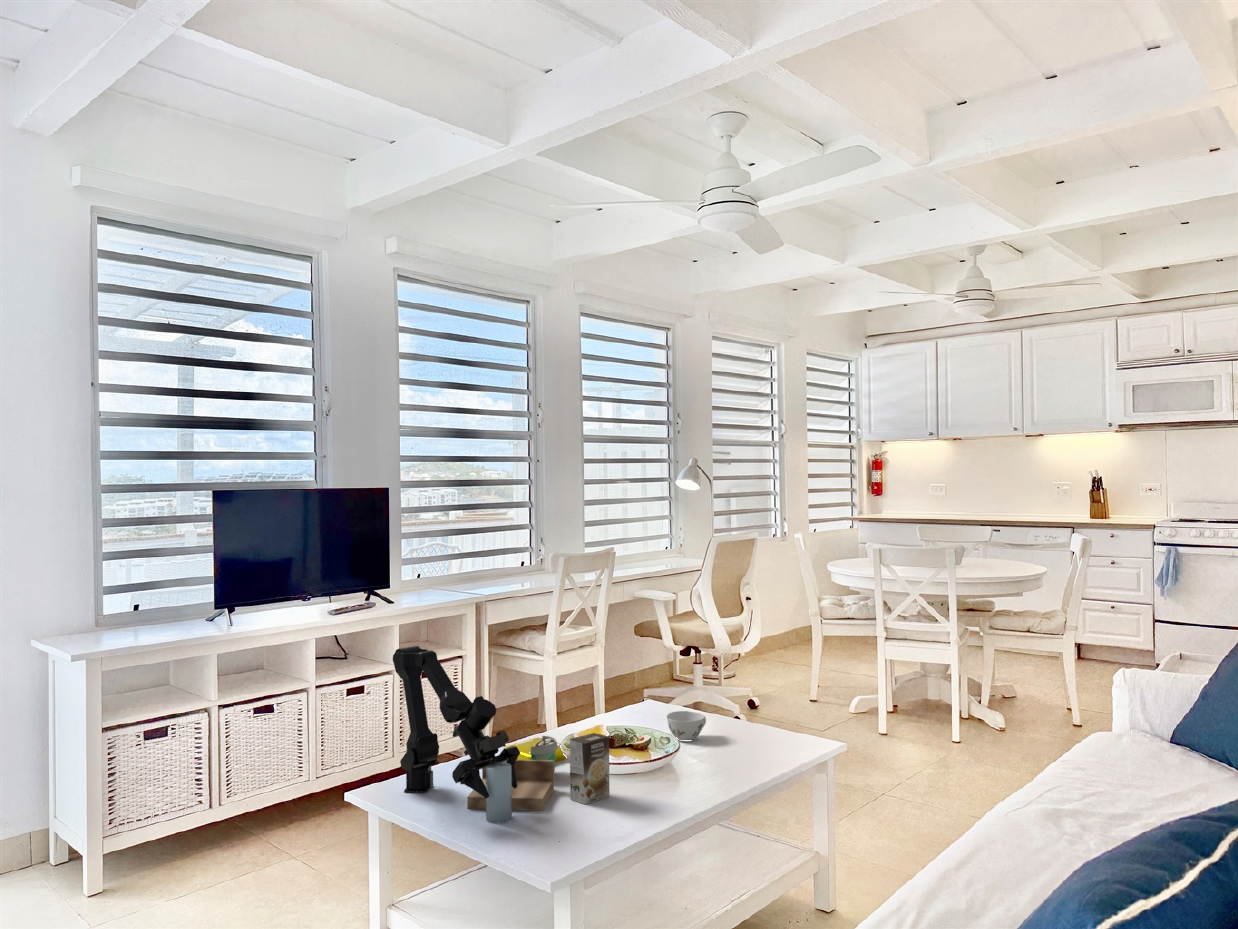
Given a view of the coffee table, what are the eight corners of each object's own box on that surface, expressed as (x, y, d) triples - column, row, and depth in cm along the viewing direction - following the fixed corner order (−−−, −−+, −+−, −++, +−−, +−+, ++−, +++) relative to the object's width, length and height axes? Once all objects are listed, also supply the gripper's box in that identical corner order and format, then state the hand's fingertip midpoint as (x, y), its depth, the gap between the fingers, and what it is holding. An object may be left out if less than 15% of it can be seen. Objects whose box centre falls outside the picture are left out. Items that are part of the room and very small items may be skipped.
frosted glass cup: (483, 822, 213) (482, 770, 214) (490, 813, 219) (489, 762, 220) (508, 823, 212) (507, 770, 213) (514, 814, 219) (513, 762, 219)
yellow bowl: (538, 750, 275) (538, 735, 276) (569, 759, 265) (569, 744, 265) (501, 761, 265) (501, 745, 265) (532, 771, 254) (532, 755, 254)
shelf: (467, 808, 223) (467, 777, 223) (483, 787, 239) (483, 759, 239) (542, 810, 221) (542, 779, 221) (553, 789, 237) (553, 760, 237)
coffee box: (585, 805, 224) (584, 743, 225) (569, 799, 229) (568, 738, 229) (610, 796, 231) (609, 736, 231) (594, 790, 235) (593, 732, 236)
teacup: (682, 747, 274) (682, 722, 274) (659, 738, 285) (658, 714, 285) (718, 739, 283) (717, 715, 283) (694, 731, 293) (694, 707, 293)
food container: (551, 783, 241) (551, 748, 242) (530, 782, 243) (530, 747, 243) (563, 770, 254) (562, 736, 254) (543, 769, 255) (542, 735, 255)
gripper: (458, 729, 213) (487, 784, 205) (515, 714, 227) (544, 764, 219) (439, 755, 217) (467, 809, 210) (496, 739, 231) (524, 789, 224)
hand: (502, 792), depth 215 cm, fingers open, 9 cm apart
